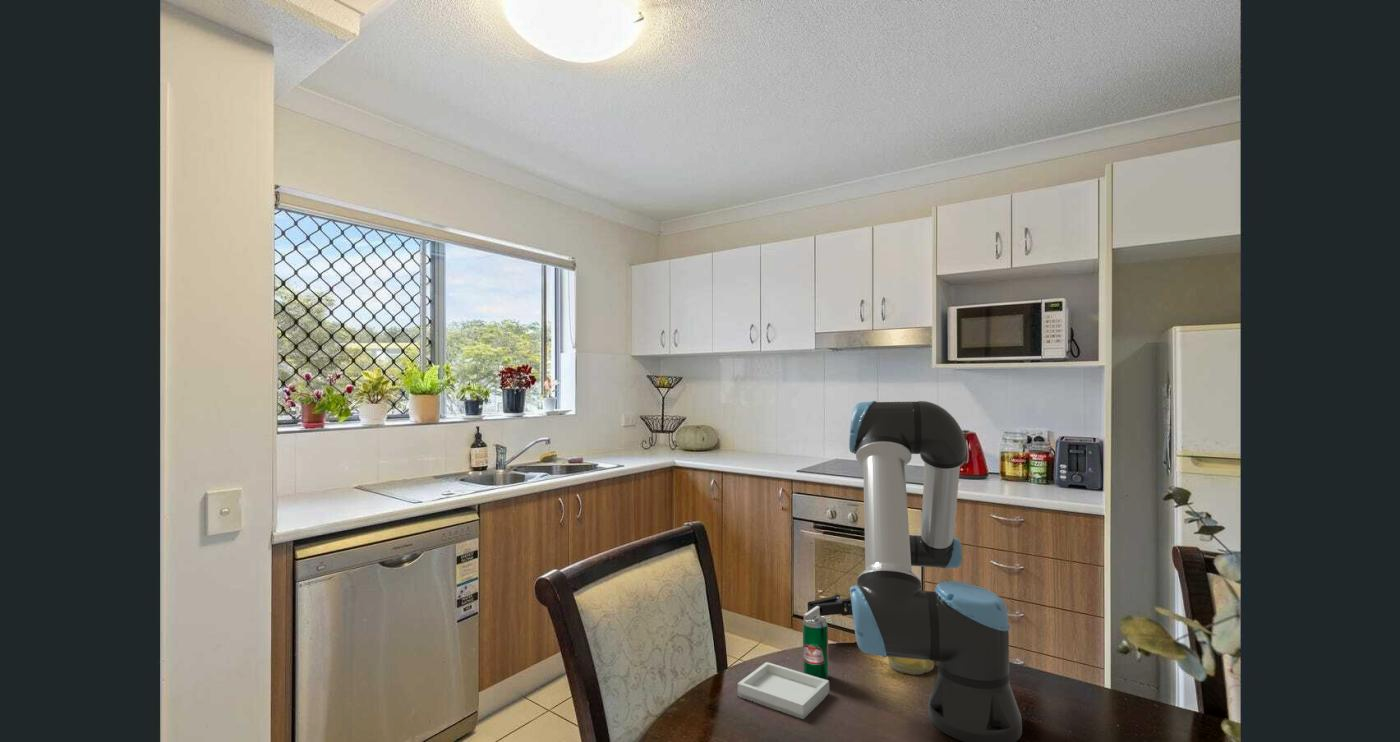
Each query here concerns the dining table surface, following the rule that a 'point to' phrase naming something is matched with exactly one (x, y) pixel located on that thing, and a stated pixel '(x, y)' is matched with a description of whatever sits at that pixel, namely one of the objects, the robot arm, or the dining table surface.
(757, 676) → the tray
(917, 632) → the robot arm
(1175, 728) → the dining table surface
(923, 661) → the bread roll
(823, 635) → the soda can
